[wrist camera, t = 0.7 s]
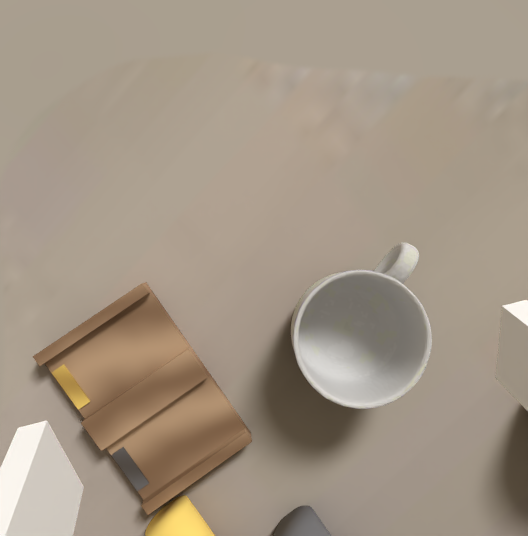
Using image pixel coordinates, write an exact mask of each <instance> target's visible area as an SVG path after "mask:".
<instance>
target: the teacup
mask: <svg viewBox="0 0 528 536" xmlns="http://www.w3.org/2000/svg"><path fill="white" fill-rule="evenodd" d="M418 259H419V252H418V250H417V249H416V248H415V247H414V246H412V245H410V244H408V243H400V244H397V245H396V246H395V247H393V248H392V249H391V250H390V251H389V253H388V254H387V255H386V256H385V257H384V258H383V259H382V261H381V262H380V263H379V265H378V266H377V267H376V268H375V270H374V271H368V270H352V271H346V272H340V273H336V274H332V275H329V276H327V277H325V278H323V279H321V280H319V281H317V282H316V283H315V284H313V285H312V286H311V287H310V288H309V289H308V290H307V291H306V292H305V293H304V294H303V295H302V297H301V298H300V300H299V302H298V303H297V305H296V308H295V310H294V313H293V317H292V322H291V340H292V345H293V349H294V353H295V357H296V361H297V363H298V366H299V368H300V370H301V372H302V374H303V375H304V377H305V379H306V380H307V381H308V382H309V384H310V385H311V386H312V387H313V388H314V389H315V390H316V391H317V392H318V393H320V394H321V395H322V396H323V397H325V398H326V399H328V400H330V401H332V402H334V403H336V404H339V405H341V406H344V407H349V408H354V409H368V408H376V407H379V406H384V405H386V404H389V403H391V402H393V401H395V400H397V399H399V398H400V397H402V396H403V395H404V394H406V393H407V392H408V391H409V390H410V389H411V388H412V387H413V386H414V385H415V384H416V383H417V381H418V380H419V379H420V377H421V376H422V375H423V371H424V370H425V368H426V364H427V362H428V359H429V357H430V352H431V344H432V337H431V327H430V323H429V319H428V316H427V314H426V312H425V309H424V308H423V306H422V304H421V303H420V301H419V300H418V299H417V297H416V296H415V295H414V294H413V293H412V292H411V291H410V290H409V289H408V288H407V287H406V286H405V285H403V283H404V282H405V281H406V279H407V278H408V277H409V276H410V274H411V273H412V272H413V270H414V269H415V267H416V265H417V262H418Z"/></svg>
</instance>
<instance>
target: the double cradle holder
mask: <svg viewBox="0 0 528 536" xmlns="http://www.w3.org/2000/svg"><path fill="white" fill-rule="evenodd" d="M33 358H34V359H35V360H36V362H37V363H38V365H39V366H41V365H43V364H44V363H45V365H46V366H47V368H48V369H49V370H50V372H51V373H52V374H53V376H54V377H55V379H56V380H57V381H58V383H59V384H60V385H61V387H62V388H63V390H64V391H65V392H66V394H67V395H68V396H69V398H70V399H71V401H72V402H73V403H74V405H75V406H76V408H77V409H78V410H79V412H80V413H81V414H82V416H83V417H84V420H83V421H82V422H81V424H82V425H83V427H84V428H85V429H86V431H87V432H88V433H89V435H90V436H91V438H92V439H93V440H94V442H95V443H96V444H97V446H98V447H99V449H100V450H101V451H102V450H103V449H105V448H106V449H107V450H108V452H109V453H110V454H111V456H112V457H113V459H114V460H115V461H116V463H117V464H118V465H119V467H120V468H121V470H122V471H123V472H124V474H125V475H126V476H127V478H128V479H129V481H130V482H131V483H132V485H133V486H134V488H135V489H136V490H137V492H138V493H139V494H140V496H141V497H142V499H143V503H142V508H143V509H144V511H145V512H146V513H147V515H149V514H150V513H152V512H153V511H155V510H156V509H157V508H159V507H160V506H162V505H163V504H164V503H166V502H167V501H169V500H170V499H171V498H173V497H174V496H176V495H177V494H179V493H180V492H181V491H183V490H184V489H186V488H187V487H188V486H190V485H191V484H193V483H194V482H195V481H197V480H198V479H200V478H201V477H203V476H204V475H205V474H207V473H208V472H210V471H211V470H212V469H214V468H215V467H217V466H218V465H219V464H221V463H222V462H224V461H225V460H227V459H228V458H229V457H231V456H232V455H234V454H235V453H236V452H238V451H239V450H241V449H242V448H243V447H245V446H246V445H248V444H249V443H251V442H252V438H251V432H250V431H249V429H248V428H247V427H246V425H245V424H244V422H243V421H242V419H241V418H240V416H239V415H238V414H237V412H236V411H235V409H234V408H233V406H232V405H231V404H230V402H229V401H228V399H227V398H226V396H225V395H224V394H223V392H222V391H221V389H220V388H219V386H218V385H217V383H216V382H215V381H214V379H213V378H212V376H211V375H210V373H209V372H208V371H207V369H206V368H205V366H204V365H203V363H202V362H201V361H200V359H199V358H198V356H197V355H196V353H195V352H194V350H193V349H192V348H191V346H190V345H189V343H188V342H187V340H186V339H185V338H184V336H183V335H182V333H181V332H180V330H179V329H178V328H177V326H176V325H175V323H174V322H173V320H172V319H171V318H170V316H169V315H168V313H167V312H166V310H165V309H164V307H163V306H162V305H161V303H160V302H159V300H158V299H157V297H156V296H155V295H154V293H153V292H152V290H151V289H150V287H149V286H148V285H147V283H142V284H140V285H139V286H137V287H136V288H135V289H133V290H132V291H130V292H129V293H127V294H126V295H124V296H123V297H121V298H120V299H118V300H117V301H115V302H114V303H112V304H111V305H109V306H108V307H106V308H105V309H103V310H102V311H100V312H99V313H97V314H96V315H94V316H93V317H91V318H90V319H88V320H87V321H85V322H84V323H82V324H81V325H79V326H78V327H76V328H75V329H73V330H72V331H70V332H69V333H67V334H66V335H64V336H63V337H61V338H60V339H58V340H57V341H55V342H54V343H52V344H51V345H49V346H48V347H46V348H45V349H43V350H42V351H40V352H39V353H37V354H36V355H34V356H33Z"/></svg>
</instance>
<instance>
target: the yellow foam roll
mask: <svg viewBox="0 0 528 536" xmlns="http://www.w3.org/2000/svg"><path fill="white" fill-rule="evenodd" d="M145 535H146V536H215V535H214V533H213V532H212V531H211V529H210V528H209V526H208V525H207V524H206V522H205V521H204V519H203V518H202V517H201V515H200V514H199V512H198V511H197V510H196V508H195V507H194V505H193V504H192V503H191V501H190V500H189V499H188V497H187V496H180V497H177V498H176V499H174V500H173V501H171V502H170V503H169V504H167V505H166V506H164V507H163V508H162V509H161V510H160V511H159V512H158V513H157V514H156V515H155V516H154V518H153V519H152V520H151V522H150V523H149V525H148V527H147V529H146V532H145Z"/></svg>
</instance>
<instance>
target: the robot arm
mask: <svg viewBox="0 0 528 536" xmlns="http://www.w3.org/2000/svg"><path fill="white" fill-rule="evenodd" d="M495 378H496V379H497V380H498V381H499V382H500V383H501V384H502V385H503V386H504V387H505V388H506V389H507V391H508V392H509V393H510V394H511V395H512V396H513V397H514V398H515V399H516V400H517V401H518V402H519V403H520V404H521V405H522V406H523V407H524V408H525V409H526V410H527V411H528V301H527V300H524V301H520V302H516V303H512V304H508V305H504V306H502V312H501V323H500V333H499V344H498V355H497V366H496V376H495ZM83 488H84V487H83V485H82V483H81V481H80V479H79V478H78V476H77V474H76V472H75V470H74V469H73V467H72V465H71V463H70V461H69V459H68V458H67V456H66V454H65V452H64V450H63V449H62V447H61V445H60V443H59V441H58V439H57V438H56V436H55V434H54V432H53V430H52V429H51V427H50V425H49V423H48V421H43V422H39V423H35V424H31V425H27V426H23V427H19V428H18V429H17V432H16V434H15V436H14V438H13V441H12V443H11V445H10V448H9V450H8V452H7V455H6V457H5V459H4V462H3V464H2V466H1V468H0V536H73V533H74V528H75V524H76V519H77V515H78V510H79V506H80V501H81V497H82V492H83Z"/></svg>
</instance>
